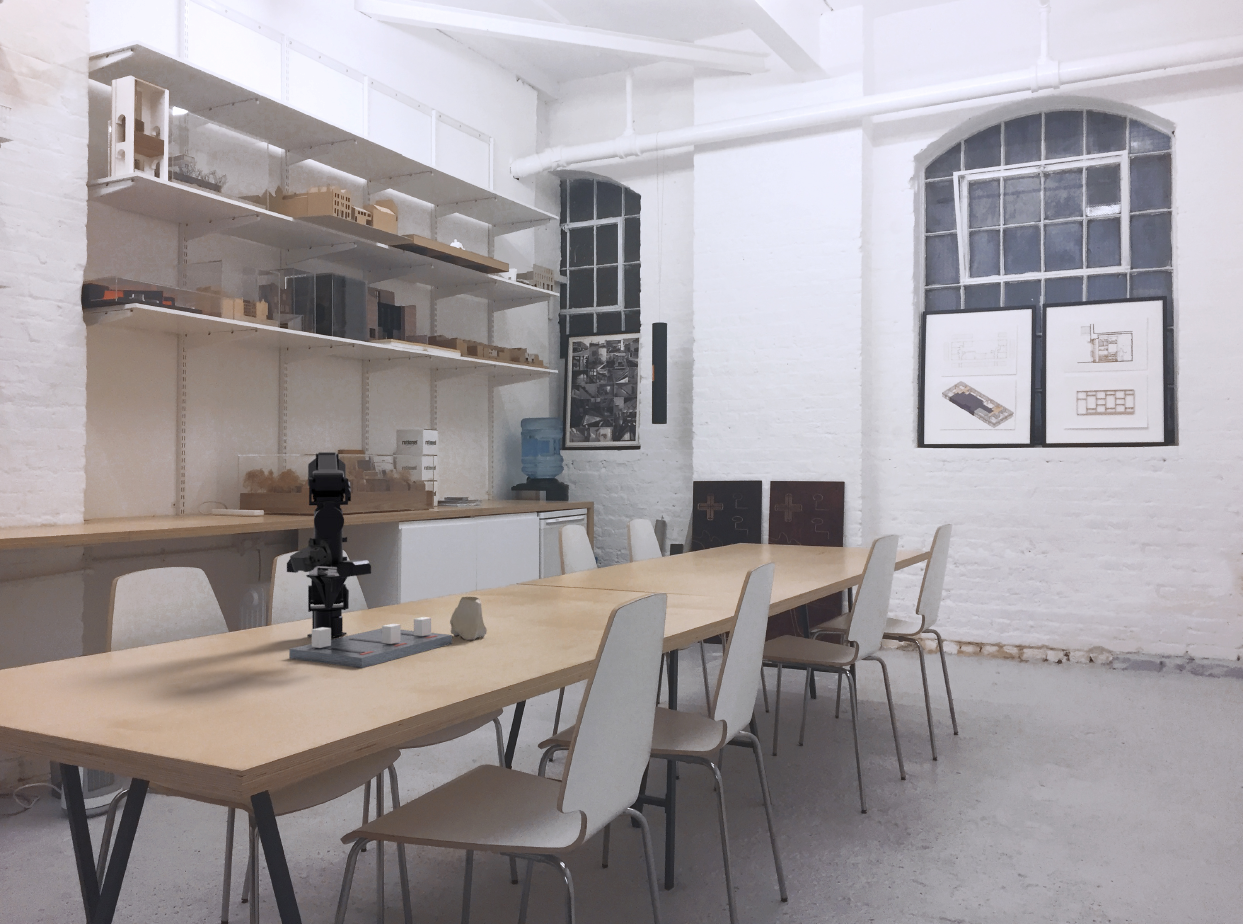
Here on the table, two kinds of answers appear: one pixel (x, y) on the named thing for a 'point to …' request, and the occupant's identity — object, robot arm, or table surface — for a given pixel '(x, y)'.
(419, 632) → the handle far
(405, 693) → the table surface
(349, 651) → the panel
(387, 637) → the handle mid
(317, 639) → the handle
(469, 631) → the faceted grey rock
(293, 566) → the robot arm
